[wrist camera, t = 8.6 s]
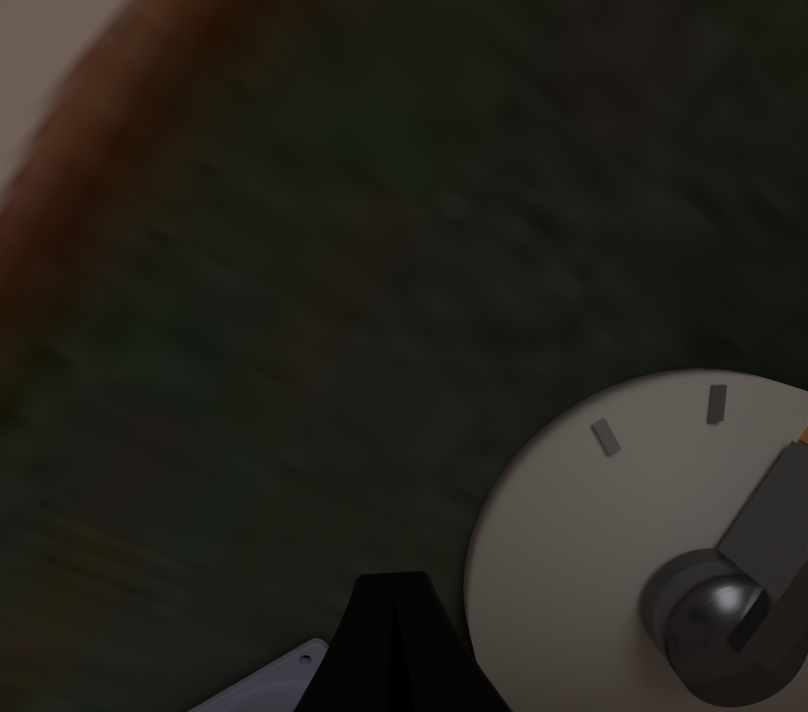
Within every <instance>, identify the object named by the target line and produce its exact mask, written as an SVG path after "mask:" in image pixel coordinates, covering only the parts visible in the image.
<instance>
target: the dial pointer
mask: <svg viewBox="0 0 808 712" xmlns="http://www.w3.org/2000/svg"><path fill="white" fill-rule="evenodd" d="M641 618H642V623H643V626H644V629H645V631H646V633H647V634H648V636H649V637H650V639H651V640H652V641H653V643H654V644H655V645H656V647H657V648H658V650H659V651H660V652H661V654H662V655H663V656H664V658H665V659H666V661H667V662H668V663H669V665H670V666H671V667H672V669H673V670H674V672H675V673H676V674H677V676H678V677H679V678H680V680H681V681H682V683H683V684H684V685H685V687H686V688H687V689H688V690H689V691H690V692H691V693H692V694H693V695H694V696H695V697H697V698H698V699H700V700H702V701H703V702H705V703H708V704H711V705H714V706H719V707H727V708H735V707H744V706H749V705H753V704H756V703H759V702H761V701H764V700H766V699H768V698H770V697H771V696H773V695H775V694H776V693H778V692H779V691H781V690H782V689H783V688H784V687H786V686H787V685H788V684H789V683H790V682H791V681H792V680H793V678H794V677H795V676H796V675H797V673H798V672H799V671H800V669H801V668H802V666H803V664H804V662H805V660H806V657H807V654H808V447H806V446H803V445H801V444H799V443H796V442H794V441H791V443H790V444H789V445H788V447H787V448H786V450H785V451H784V453H783V454H782V456H781V457H780V459H779V460H778V461H777V463H776V464H775V466H774V467H773V469H772V470H771V472H770V473H769V474H768V476H767V477H766V479H765V480H764V482H763V483H762V485H761V486H760V488H759V489H758V490H757V492H756V493H755V495H754V496H753V498H752V499H751V501H750V502H749V503H748V505H747V506H746V508H745V509H744V511H743V512H742V514H741V515H740V516H739V518H738V519H737V521H736V522H735V524H734V525H733V527H732V528H731V530H730V531H729V532H728V534H727V535H726V537H725V538H724V540H723V541H722V543H721V544H720V545H719V547H718V548H717V549H714V548H705V549H697V550H693V551H689V552H687V553H684V554H681V555H679V556H677V557H675V558H674V559H672V560H671V561H669V562H668V563H666V564H665V565H664V566H663V567H662V568H661V569H660V570H659V571H658V572H657V573H656V574H655V575H654V576H653V578H652V579H651V580H650V582H649V584H648V586H647V588H646V590H645V592H644V595H643V599H642V604H641Z"/></svg>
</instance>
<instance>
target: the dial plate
mask: <svg viewBox="0 0 808 712" xmlns="http://www.w3.org/2000/svg"><path fill="white" fill-rule="evenodd" d="M791 441H794V442H796V443H799V444H801V445H803V446H806V447H808V392H807V391H804V390H801V389H798V388H795V387H792V386H789V385H785V384H782V383H779V382H776V381H772V380H769V379H766V378H762V377H759V376H756V375H752V374H749V373H743V372H736V371H730V370H724V369H701V368H690V369H681V370H671V371H662V372H658V373H654V374H650V375H645V376H641V377H637V378H633V379H630V380H628V381H625V382H622V383H619V384H617V385H614V386H611V387H609V388H606V389H604V390H602V391H600V392H598V393H596V394H594V395H592V396H590V397H588V398H586V399H584V400H582V401H580V402H578V403H577V404H575V405H574V406H572V407H571V408H569V409H568V410H566V411H565V412H563V413H562V414H561V415H559V416H558V417H556V418H555V419H553V420H552V421H551V422H549V423H548V424H547V425H546V426H545V427H544V428H543V429H541V430H540V431H539V432H538V433H537V434H536V435H535V436H533V437H532V438H531V439H530V440H529V441H528V442H527V443H526V444H525V445H524V447H523V448H522V449H521V450H520V451H519V452H518V453H517V454H516V455H515V457H514V458H513V459H512V460H511V461H510V462H509V464H508V465H507V466H506V468H505V469H504V471H503V472H502V474H501V475H500V476H499V478H498V479H497V481H496V482H495V484H494V485H493V487H492V489H491V491H490V492H489V494H488V496H487V498H486V500H485V502H484V504H483V506H482V508H481V510H480V512H479V515H478V517H477V520H476V523H475V526H474V528H473V531H472V534H471V537H470V541H469V546H468V551H467V555H466V560H465V568H464V583H463V593H464V606H465V615H466V620H467V624H468V628H469V633H470V637H471V641H472V645H473V649H474V653H475V657H476V661H477V663H478V664H479V666H480V667H481V669H482V670H483V672H484V673H485V675H486V676H487V677H488V679H489V680H490V682H491V683H492V684H493V686H494V687H495V688H496V690H497V691H498V693H499V694H500V695H501V697H502V698H503V699H504V701H505V702H506V703H507V705H508V706H509V707H510V708H511V710H512V711H513V712H808V654H807V657H806V660H805V662H804V664H803V666H802V668H801V669H800V671H799V672H798V673H797V675H796V676H795V677H794V678H793V680H792V681H791V682H790V683H789V684H788V685H787V686H786V687H784V688H783V689H782V690H781V691H779V692H778V693H776V694H775V695H773V696H771V697H770V698H768V699H766V700H764V701H761V702H759V703H756V704H753V705H749V706H744V707H735V708H727V707H719V706H714V705H711V704H708V703H705V702H703V701H702V700H700V699H698V698H697V697H695V696H694V695H693V694H692V693H691V692H690V691H689V690H688V689H687V688H686V687H685V685H684V684H683V683H682V681H681V680H680V678H679V677H678V676H677V674H676V673H675V672H674V670H673V669H672V667H671V666H670V665H669V663H668V662H667V661H666V659H665V658H664V656H663V655H662V654H661V652H660V651H659V650H658V648H657V647H656V645H655V644H654V643H653V641H652V640H651V639H650V637H649V636H648V634H647V633H646V631H645V629H644V626H643V623H642V618H641V604H642V599H643V595H644V592H645V590H646V588H647V586H648V584H649V582H650V580H651V579H652V578H653V576H654V575H655V574H656V573H657V572H658V571H659V570H660V569H661V568H662V567H663V566H664V565H665V564H666V563H668V562H669V561H671V560H672V559H674V558H675V557H677V556H679V555H681V554H684V553H687V552H689V551H693V550H697V549H705V548H714V549H717V548H718V547H719V545H720V544H721V543H722V541H723V540H724V538H725V537H726V535H727V534H728V532H729V531H730V530H731V528H732V527H733V525H734V524H735V522H736V521H737V519H738V518H739V516H740V515H741V514H742V512H743V511H744V509H745V508H746V506H747V505H748V503H749V502H750V501H751V499H752V498H753V496H754V495H755V493H756V492H757V490H758V489H759V488H760V486H761V485H762V483H763V482H764V480H765V479H766V477H767V476H768V474H769V473H770V472H771V470H772V469H773V467H774V466H775V464H776V463H777V461H778V460H779V459H780V457H781V456H782V454H783V453H784V451H785V450H786V448H787V447H788V445H789V444H790V443H791Z"/></svg>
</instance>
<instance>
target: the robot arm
mask: <svg viewBox="0 0 808 712" xmlns="http://www.w3.org/2000/svg"><path fill="white" fill-rule="evenodd" d="M304 655H308V656H310V658H304V657H302V656H304ZM188 712H513V711H512V710H511V708H510V707H509V706H508V705H507V703H506V702H505V701H504V699H503V698H502V697H501V695H500V694H499V693H498V691H497V690H496V688H495V687H494V686H493V684H492V683H491V682H490V680H489V679H488V677H487V676H486V675H485V673H484V672H483V670H482V669H481V667H480V666H479V664H478V663H477V662H476V660H475V659H474V657H473V656H472V654H471V652H470V651H469V649H468V648H467V646H466V645H465V643H464V641H463V640H462V638H461V637H460V635H459V634H458V632H457V630H456V629H455V627H454V625H453V624H452V622H451V620H450V618H449V616H448V615H447V613H446V611H445V609H444V607H443V606H442V604H441V602H440V600H439V598H438V596H437V594H436V592H435V589H434V587H433V585H432V582H431V580H430V577H429V576H428V575H427V574H426V573H425V572H424V571H417V572H399V573H382V574H364V575H360V576H359V577H358V578H357V579H356V581H355V585H354V589H353V592H352V595H351V598H350V600H349V603H348V606H347V608H346V611H345V613H344V615H343V618H342V620H341V622H340V624H339V627H338V629H337V631H336V633H335V635H334V637H333V639H332V641H331V643H330V645H329V646H328V645H327V643H326V642H325V641H323V640H321V639H312V640H309V641H308V642H306V643H304V644H302V645H301V646H299V647H297V648H296V649H294V650H292V651H290V652H289V653H287V654H285V655H284V656H282V657H280V658H278V659H277V660H275V661H273V662H272V663H270V664H268V665H266V666H265V667H263V668H261V669H260V670H258V671H256V672H254V673H253V674H251V675H249V676H248V677H246V678H244V679H242V680H241V681H239V682H237V683H236V684H234V685H232V686H230V687H229V688H227V689H225V690H224V691H222V692H220V693H219V694H217V695H215V696H213V697H212V698H210V699H208V700H207V701H205V702H203V703H201V704H200V705H198V706H196V707H195V708H193V709H191V710H189V711H188Z"/></svg>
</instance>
